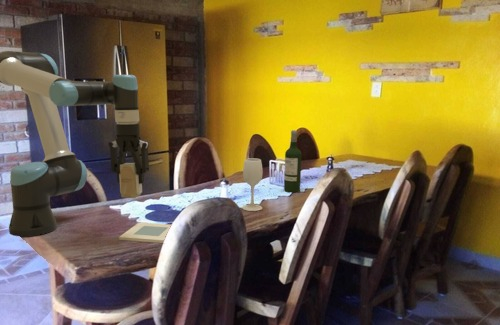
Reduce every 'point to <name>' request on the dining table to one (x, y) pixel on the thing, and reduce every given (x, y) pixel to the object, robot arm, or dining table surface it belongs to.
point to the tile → (146, 232)
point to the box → (128, 180)
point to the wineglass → (252, 179)
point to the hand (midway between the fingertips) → (131, 192)
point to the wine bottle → (292, 166)
